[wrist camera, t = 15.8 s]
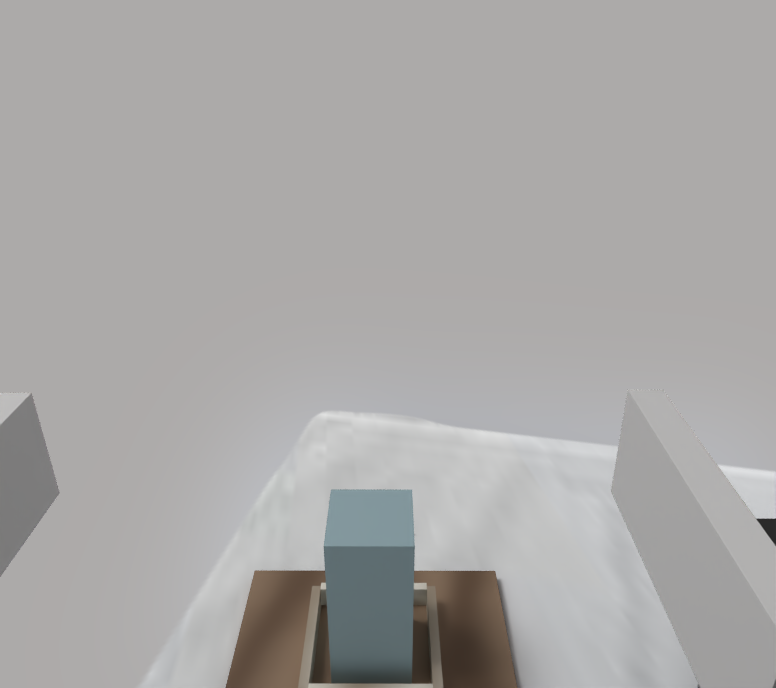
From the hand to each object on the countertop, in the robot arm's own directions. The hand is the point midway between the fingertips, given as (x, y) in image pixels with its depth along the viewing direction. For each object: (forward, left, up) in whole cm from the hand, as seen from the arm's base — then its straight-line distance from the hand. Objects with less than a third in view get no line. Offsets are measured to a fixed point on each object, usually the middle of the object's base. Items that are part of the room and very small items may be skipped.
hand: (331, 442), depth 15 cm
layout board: (0, -19, -29) cm, 35 cm away
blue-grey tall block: (0, -18, -28) cm, 34 cm away
